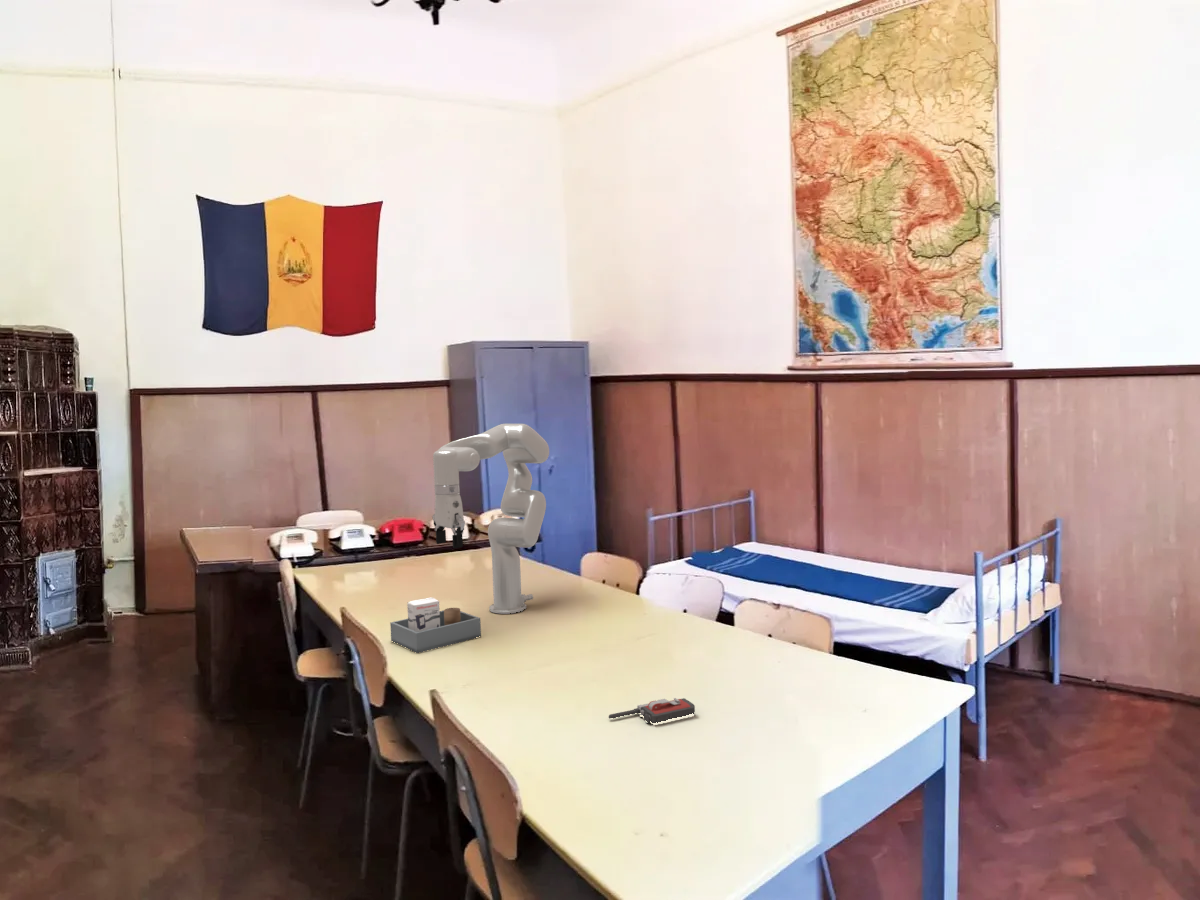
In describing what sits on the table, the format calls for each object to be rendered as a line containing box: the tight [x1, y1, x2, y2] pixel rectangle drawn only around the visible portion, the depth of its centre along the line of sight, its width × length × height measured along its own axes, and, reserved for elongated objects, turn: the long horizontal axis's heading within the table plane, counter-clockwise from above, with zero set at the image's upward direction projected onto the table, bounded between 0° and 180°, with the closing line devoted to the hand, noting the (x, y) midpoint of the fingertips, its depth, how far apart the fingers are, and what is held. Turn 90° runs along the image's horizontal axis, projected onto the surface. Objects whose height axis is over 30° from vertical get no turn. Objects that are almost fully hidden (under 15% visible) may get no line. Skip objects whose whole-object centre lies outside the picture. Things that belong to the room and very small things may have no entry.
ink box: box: [406, 596, 441, 632], centre depth 264 cm, size 8×5×12 cm, turn 125°
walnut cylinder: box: [443, 607, 461, 625], centre depth 270 cm, size 5×5×7 cm
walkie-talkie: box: [608, 697, 696, 723], centre depth 202 cm, size 9×4×20 cm
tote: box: [389, 609, 482, 654], centre depth 267 cm, size 22×16×6 cm
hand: (449, 545), depth 268 cm, fingers open, 9 cm apart
